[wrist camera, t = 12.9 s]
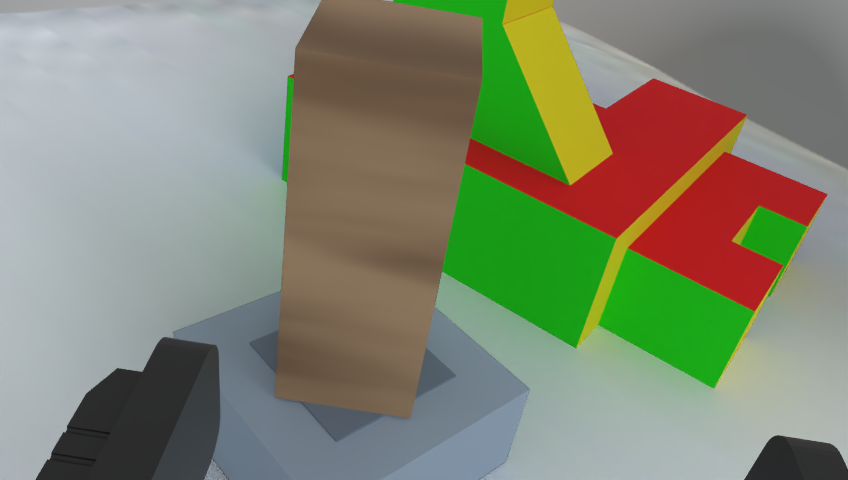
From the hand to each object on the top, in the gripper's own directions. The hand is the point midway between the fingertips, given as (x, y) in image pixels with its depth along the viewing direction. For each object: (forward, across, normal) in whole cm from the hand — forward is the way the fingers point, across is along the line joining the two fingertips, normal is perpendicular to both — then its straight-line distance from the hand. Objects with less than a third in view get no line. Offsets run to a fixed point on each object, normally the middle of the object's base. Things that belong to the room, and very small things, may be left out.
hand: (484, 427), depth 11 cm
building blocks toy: (+30, -6, +16) cm, 35 cm away
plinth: (+12, +3, +15) cm, 19 cm away
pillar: (+12, +3, +11) cm, 16 cm away
